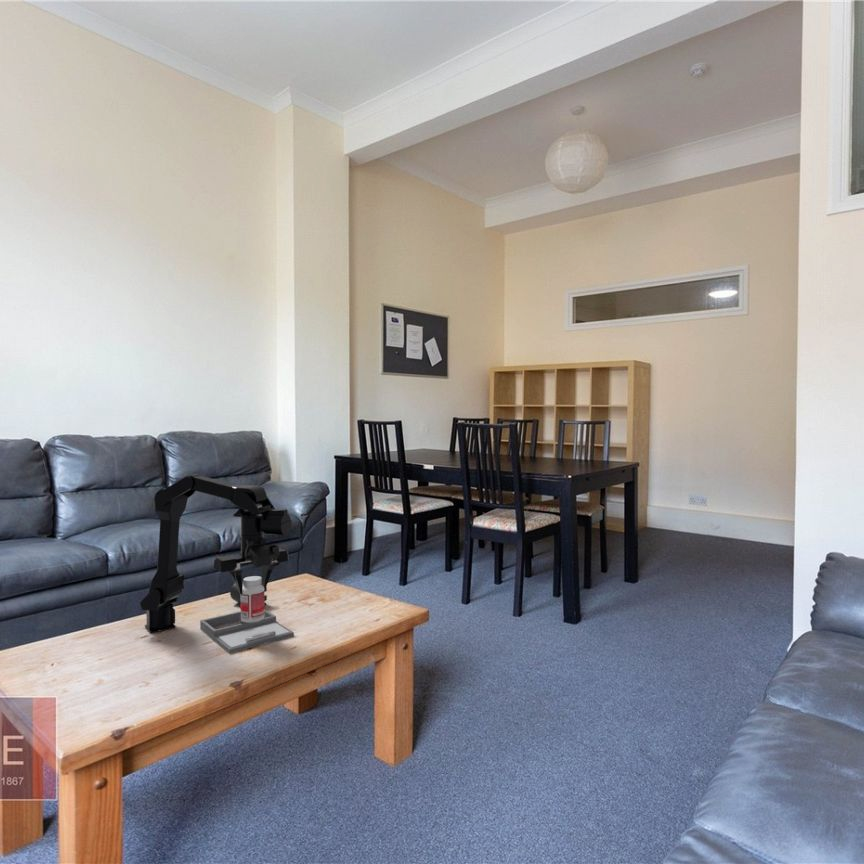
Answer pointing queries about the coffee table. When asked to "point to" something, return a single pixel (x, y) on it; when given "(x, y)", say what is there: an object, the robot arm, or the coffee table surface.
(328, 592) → the coffee table surface
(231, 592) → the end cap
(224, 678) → the coffee table surface
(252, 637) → the stay rod
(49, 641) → the coffee table surface
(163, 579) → the robot arm
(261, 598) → the pill bottle
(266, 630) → the case lid
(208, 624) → the case
